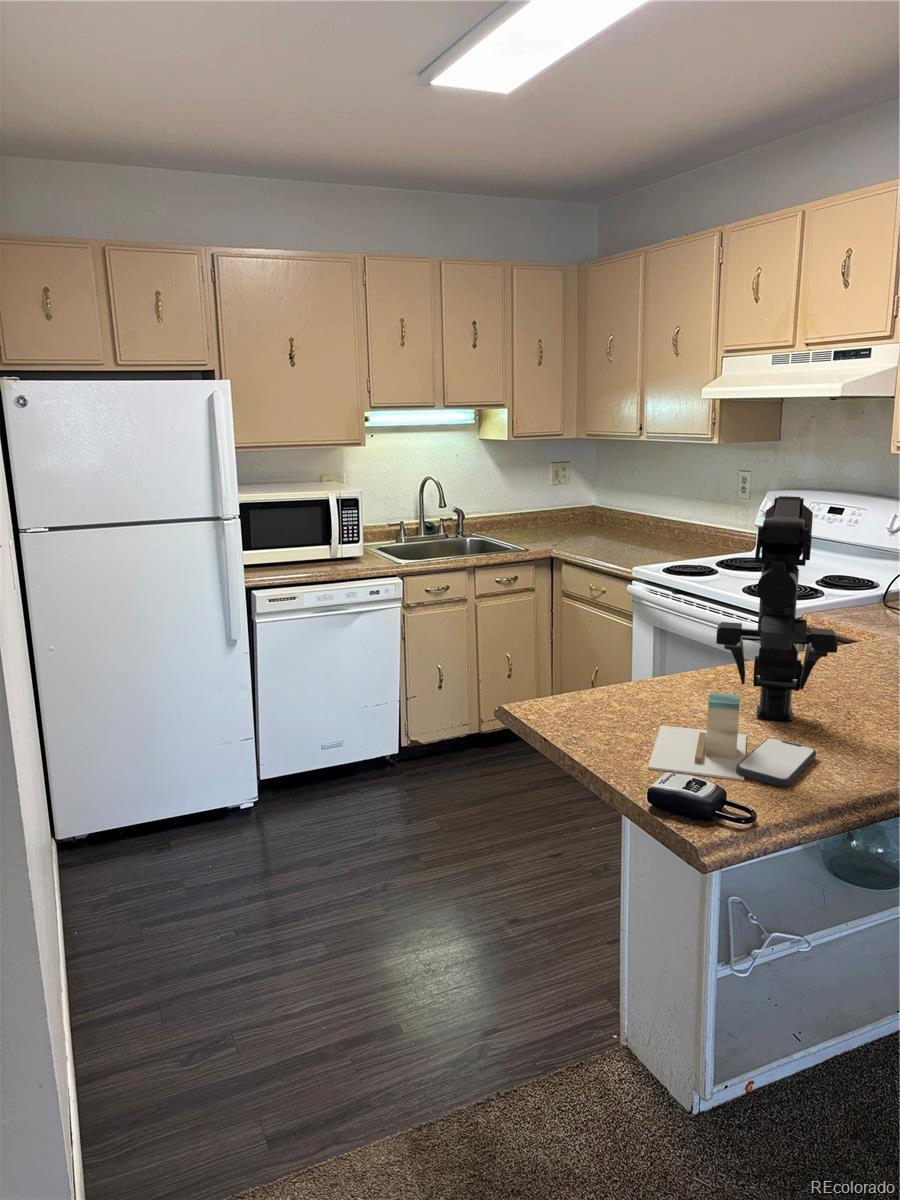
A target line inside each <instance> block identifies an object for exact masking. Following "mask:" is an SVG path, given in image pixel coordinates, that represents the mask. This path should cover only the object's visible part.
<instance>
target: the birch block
mask: <svg viewBox="0 0 900 1200" xmlns="http://www.w3.org/2000/svg"><path fill="white" fill-rule="evenodd" d="M740 697H741V695H740V694H731V693H730V694H729V693H720V692H710V693H709V697H708V706H707V707H708V708H707V723H706V724H707V725H706V730H707V741H706V756H709V757H718V758H726V759H735V760H736V752H737V737H738V734H739V733H738V731H739V720H740V719H739V717H740V716H739V715H740V704H741V703H740V700H741V698H740Z"/></svg>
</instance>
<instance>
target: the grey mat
mask: <svg viewBox="0 0 900 1200" xmlns="http://www.w3.org/2000/svg"><path fill="white" fill-rule="evenodd" d="M706 741H707V729H706V730H705V729H697V728H688V727H680V726H678V727H677V726H670V725H660V726H659V729H658V733H657V735H656V739H655V742H654V745H653V749H652V752H651V755H650V758H649V762H648V765H647V769H648V770H654V771H663V772H669V771H675V772H674V773H677V772H681V773H680V774H686V775H697V776H703V777H712V778H718V779H719V778H721V779H727V780H728V779H729V780H735V781H743V782H744V781H745V776H741V775H739V774H737V772H736V766H737V765H738V764H739V763H740V762H741V761H742V760H743V759H744V758H745V757H746V752H747V751H746V750H747V749H746V748H747V734H746V733H738V737H737V752H736V760H735V759H726V758H718V757H709V756H706Z"/></svg>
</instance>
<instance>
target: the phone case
mask: <svg viewBox="0 0 900 1200" xmlns="http://www.w3.org/2000/svg"><path fill="white" fill-rule="evenodd" d="M816 757H817V751H816V750H815V749H814V748H813V747H809V746H805V745H802V744H797V743H794V742H790V741H787V740H782V739H778V738H774V737H773V738H772V737H770V738H769V737H767V738H766V739H765V740H764V741H763V742H761V743H760V744H759V745H757V746H756V748H754V749H753V750H752V751H751V752H750V753H748V755H746V756H745V758H744V759H743V760H742V761H741V762H740V763H739V764H738V765H737V766H736V772H737V774H739V775H741V776H744V778H745V777H746V778H748V779H752V780H756V781H758V782H763V783H766V784H769V785H772V786H777V787H781V788H787V787H789V786H790V785H791V784H792V783H793V782H794V781H795V779H797V778H798V777H799V775H801V774H802V772H804V770H805V769H806V768H807V767H808V766H809V765H810V764H811V762H813V761H814V759H816Z"/></svg>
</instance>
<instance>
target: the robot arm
mask: <svg viewBox="0 0 900 1200" xmlns="http://www.w3.org/2000/svg"><path fill="white" fill-rule="evenodd" d="M804 500H805V499H804V497H803V498H802V497H800V496H792V495H791V496H789V495H788V496H787V495H785V496H783V495H779V496H778V497H774V501H773V505H771V506H770V507H769V508H767V510H765V512H764V513H765V516H764V520H763V524H762V526H761V525H760V526H758V529H757V539H756V545H755V546H756V547H755V555H754V564H762V565H763V567H761V575H760V579H759V581H758V582H757V586H756V591H757V596H758V598H759V609H758V621H757V629H750V628H743V623H741V622H728V621H727V622H726V621H721V622H720V623H719V624H718V626H717V630H716V641H715V643H716V644H718V645H721V646H723V649H724V650H729V651H730V652H731V654H732V656H733V658H734V661H735V663H736V667H737V671H738V674H739V677H740V682H741V685H745V684H746V683H745V682H746V667H745V666H746V664H745V651H744V641H753V642H760V644H759V645H760V647H759V649H758V655H755V657H754V663H753V665H754V666H753V683H752V684H753V685H752V687H755V688H756V687H760V692H759V693H760V696H759V705H757V706H756V719H758V720H759V719H760V720H769V721H770V720H771V721H778V722H780V721H781V722H790V723H791V722H793V721H794V720H793V718H794V717H793V709H792V708H791V707H792V706H791V705H792V697H793V696H792V693H793V691H796V692H799V691H800V690H803V689H804V687H805V685H806V683H807V681H808V679H809V676H810V674H811V673H812V670H813V668H814V667H815V665H816V664H817V662H818V660H820V659H821V658H822V657H823V658H827V657H829V656H828V655H829V653H830V654H831V653H832V654H835V653H837V652H838V645H839V644H838V643H839V641H838V636H837V633H836V632H835V630H834V629H831V628H818V627H817V628H815V627H810V630H809V632H807V627H808V619H803V618H801V619H799V618H796V613H797V604H798V603H797V601H798V590H799V589H798V588H799V575H800V569H799V567H802V566H803V567H805V566H806V561H810V560H811V549H812V537H813V535H812V529H813V517H814V513H813V511H812V510H811V509H810V508H808V506H806V504H804ZM800 557H802V558H801V559H800ZM798 566H799V567H798ZM796 645H806V649H805V653H804V660H803V663H802V660H801V659H799V650H798V648H797V646H796Z"/></svg>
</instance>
